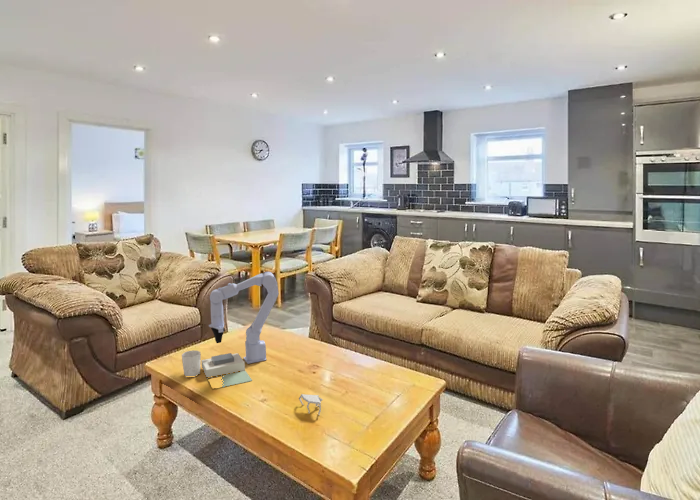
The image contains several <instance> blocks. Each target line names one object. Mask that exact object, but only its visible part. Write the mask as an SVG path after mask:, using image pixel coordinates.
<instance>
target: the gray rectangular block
mask: <svg viewBox="0 0 700 500" xmlns="http://www.w3.org/2000/svg"><path fill="white" fill-rule="evenodd" d="M232 354H233V353H231V352H229V353H225V354H219V355H213V356H211V357H210V358H211V359H212V362H213V364H214V366H215V365H220V364H225V363H230V362H234V357H233V355H232Z"/></svg>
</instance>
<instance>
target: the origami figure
mask: <svg viewBox="0 0 700 500" xmlns="http://www.w3.org/2000/svg"><path fill="white" fill-rule="evenodd" d="M298 400H299V402H300V404H301V405H302V406H304V403H303V401H302V400H304V401H305V402H307V405H306V408H307V410H308V414H310V412H311V411H310V407H309V406H310V404H315V406H316V407H319V409H318V412H317V413H318V416H320V414H321V413H322V412H321V410H322V407H321V405H322V404H321V403H322V401H323V400H324V399H323V398H321V397H320V395H319V394H318V395H317V394H305V393H304V394H303V393H301V394H300V396H299V398H298Z"/></svg>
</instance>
